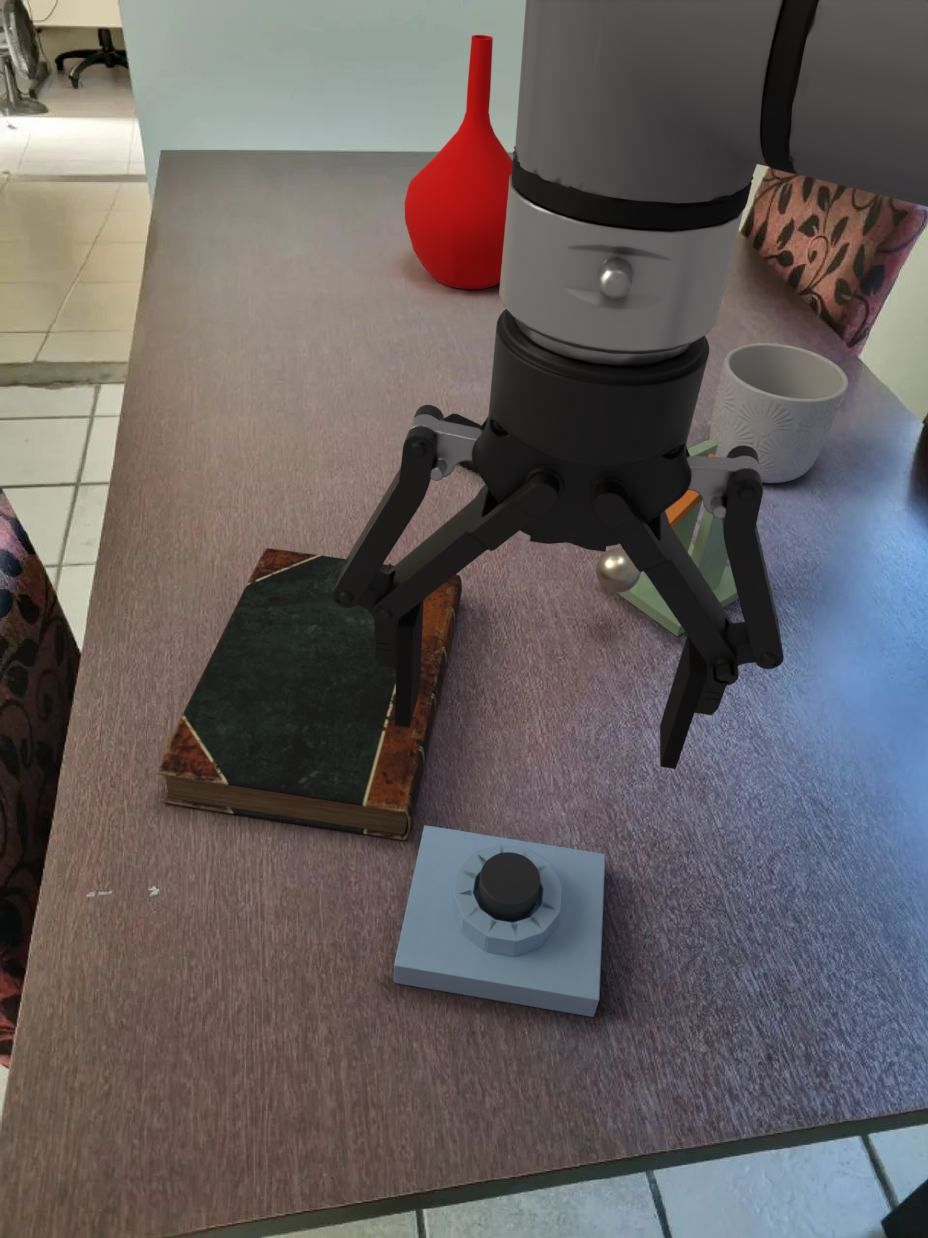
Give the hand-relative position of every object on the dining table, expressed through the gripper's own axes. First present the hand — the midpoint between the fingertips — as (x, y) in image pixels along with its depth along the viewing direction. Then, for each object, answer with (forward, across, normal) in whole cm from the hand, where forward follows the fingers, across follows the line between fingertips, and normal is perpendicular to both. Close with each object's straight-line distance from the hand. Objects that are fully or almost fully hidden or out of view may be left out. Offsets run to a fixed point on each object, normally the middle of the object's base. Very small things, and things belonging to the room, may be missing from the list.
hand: (536, 727), depth 47 cm
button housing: (+19, 0, 0) cm, 19 cm away
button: (+15, 0, 0) cm, 15 cm away
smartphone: (+19, -8, +54) cm, 57 cm away
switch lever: (+11, +9, +33) cm, 36 cm away
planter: (+19, +21, +60) cm, 66 cm away
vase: (+19, -17, +101) cm, 104 cm away
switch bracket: (+19, +12, +36) cm, 42 cm away
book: (+19, -16, +17) cm, 30 cm away
